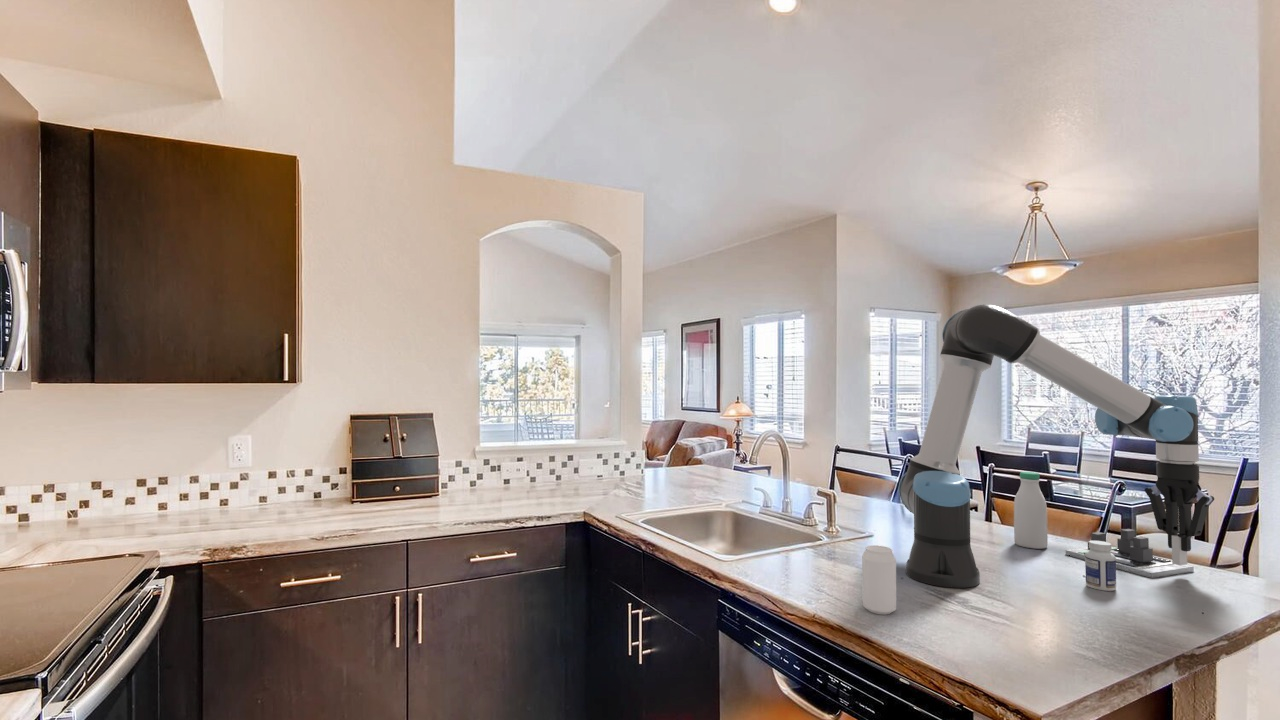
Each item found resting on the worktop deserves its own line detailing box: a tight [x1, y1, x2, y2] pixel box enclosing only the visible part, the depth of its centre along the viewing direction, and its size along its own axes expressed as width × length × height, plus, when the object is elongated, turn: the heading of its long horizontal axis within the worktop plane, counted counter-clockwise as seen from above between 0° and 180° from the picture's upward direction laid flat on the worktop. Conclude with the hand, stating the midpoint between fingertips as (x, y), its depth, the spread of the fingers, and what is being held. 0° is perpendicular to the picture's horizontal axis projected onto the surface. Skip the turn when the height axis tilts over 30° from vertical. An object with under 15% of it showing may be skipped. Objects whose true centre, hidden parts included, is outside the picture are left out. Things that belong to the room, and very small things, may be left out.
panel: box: [1065, 546, 1194, 579], centre depth 152 cm, size 15×20×2 cm
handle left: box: [1087, 531, 1107, 550], centre depth 154 cm, size 4×3×5 cm
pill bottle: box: [1084, 540, 1117, 592], centre depth 134 cm, size 5×5×10 cm
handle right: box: [1116, 528, 1137, 553], centre depth 157 cm, size 4×3×5 cm
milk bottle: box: [1013, 471, 1049, 550], centre depth 168 cm, size 8×8×20 cm
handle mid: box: [1129, 536, 1154, 562], centre depth 150 cm, size 4×3×5 cm
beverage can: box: [861, 544, 897, 616], centre depth 120 cm, size 6×6×12 cm
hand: (1179, 563), depth 142 cm, fingers closed
